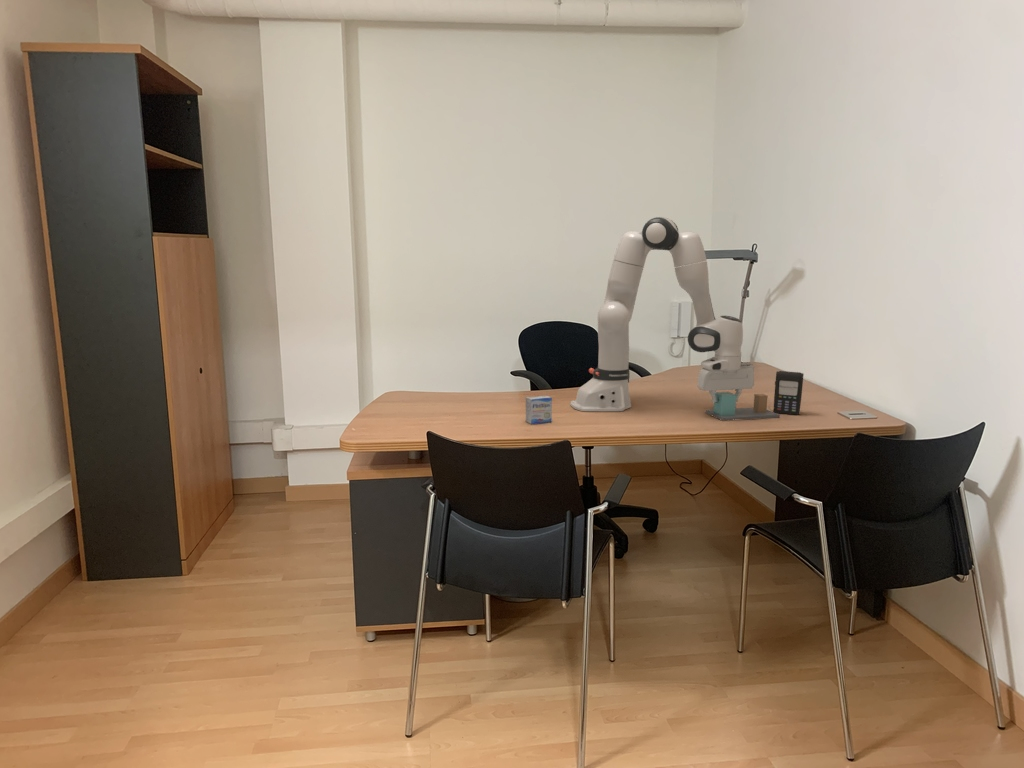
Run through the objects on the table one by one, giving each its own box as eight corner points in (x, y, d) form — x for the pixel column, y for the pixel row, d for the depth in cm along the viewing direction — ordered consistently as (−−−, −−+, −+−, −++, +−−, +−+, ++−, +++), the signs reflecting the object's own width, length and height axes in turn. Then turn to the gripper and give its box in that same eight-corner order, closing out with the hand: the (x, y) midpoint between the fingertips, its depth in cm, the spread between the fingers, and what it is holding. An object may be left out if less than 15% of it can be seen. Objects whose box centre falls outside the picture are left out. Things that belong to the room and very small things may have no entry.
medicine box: (530, 424, 240) (531, 399, 238) (525, 421, 244) (525, 396, 242) (551, 422, 243) (552, 397, 242) (546, 419, 247) (546, 394, 246)
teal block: (720, 415, 250) (722, 395, 248) (713, 411, 255) (714, 392, 253) (735, 414, 251) (736, 394, 250) (726, 411, 256) (728, 391, 255)
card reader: (772, 413, 258) (775, 372, 255) (773, 410, 261) (776, 370, 258) (799, 415, 254) (803, 374, 251) (800, 413, 258) (803, 372, 255)
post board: (722, 420, 247) (723, 400, 245) (705, 412, 258) (706, 393, 256) (779, 417, 252) (781, 398, 250) (760, 409, 263) (761, 390, 262)
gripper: (749, 360, 255) (746, 398, 257) (696, 362, 250) (694, 401, 253) (759, 363, 249) (756, 402, 251) (705, 365, 244) (702, 405, 247)
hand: (724, 401), depth 252 cm, fingers open, 6 cm apart
